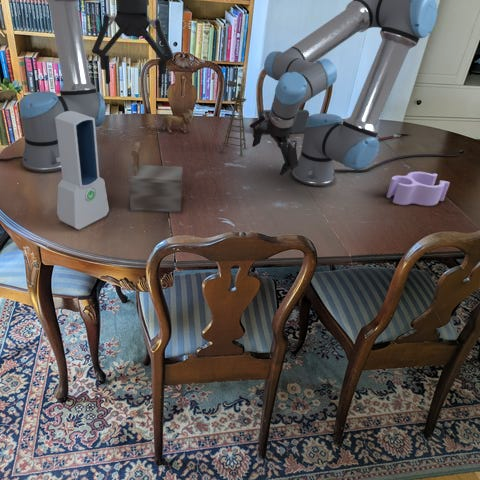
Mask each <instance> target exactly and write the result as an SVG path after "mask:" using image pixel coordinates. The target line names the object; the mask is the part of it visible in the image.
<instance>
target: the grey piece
mask: <svg viewBox="0 0 480 480" xmlns="http://www.w3.org/2000/svg"><path fill="white" fill-rule="evenodd" d="M140 149H141V142H140V141H135V142H134V144H133V147H132V149H131V153H130V154H131V155H130V156H132V157H133V158H132V159H133V163H130V165H129V167H128V171H127V175H126V182H129V181H143V182H163V183H182V184H183V173H182V171H183V169H184V167H183V166H174V165H173V166H170V165H151V164H140Z"/></svg>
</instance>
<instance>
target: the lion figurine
mask: <svg viewBox="0 0 480 480" xmlns="http://www.w3.org/2000/svg"><path fill="white" fill-rule="evenodd" d="M193 119H194V110H191V109H186V110H185V111H184V112H183V113H181V114H180V115H177V116H176V115H172V114H168V115H165V116H164V117H163V119H162V121H161V126H160V128H159V129H158V131H162V130H163V131H165V130H166V129H167V131H168V133H171V134H172V133H173V131H172V130H171V129H170V128H171V125H175V126H180V131H182V132H183V134H185V133H187V131H186V128H187V126H189V125H190V124H191V122H192V121H193ZM165 127H166V128H165Z"/></svg>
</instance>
